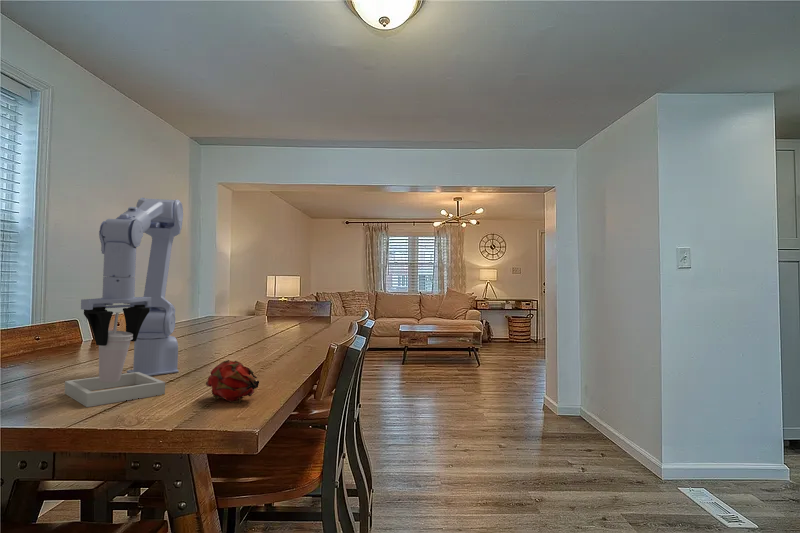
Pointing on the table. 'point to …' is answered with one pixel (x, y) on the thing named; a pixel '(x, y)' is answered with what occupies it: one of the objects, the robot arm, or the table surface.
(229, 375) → the dragon fruit
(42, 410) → the table surface
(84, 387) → the white shallow square frame
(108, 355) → the smoothie
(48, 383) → the table surface
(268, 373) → the table surface
